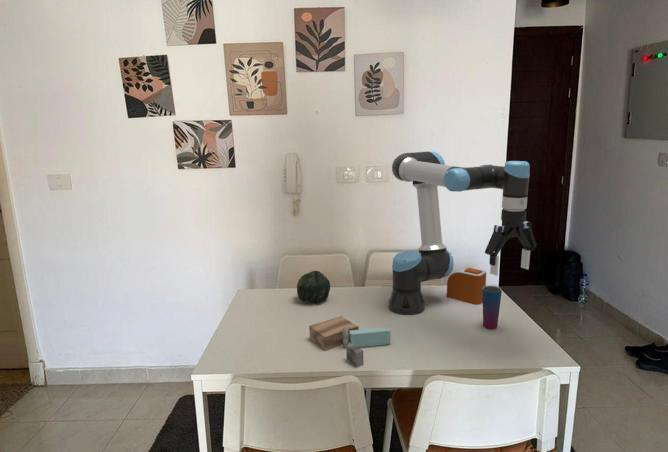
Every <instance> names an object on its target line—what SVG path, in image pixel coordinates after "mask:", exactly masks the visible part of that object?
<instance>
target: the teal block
mask: <svg viewBox="0 0 668 452" xmlns="http://www.w3.org/2000/svg"><path fill="white" fill-rule="evenodd" d="M349 341H350V342H349V344H351V343H353V344H354V345H356V346H357V347H359V348H362V347H373V346H382V345H383V346H384V345H391V329H390V328H389V326H386V327H374V328H364V329H358V330H350V331H349Z"/></svg>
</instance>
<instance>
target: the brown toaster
mask: <svg viewBox="0 0 668 452" xmlns="http://www.w3.org/2000/svg"><path fill="white" fill-rule="evenodd" d="M484 286H487V271H485V270H482V269H476V268H472V267H464V268H461V269H458V270H457V271H454V272H453V273H450V274H449V275H448V279H447V283H446V298H450V299H451V300H452V299H453V300H456V301H461V302H464V303H468V304H472V305H481V304H483V294H482V288H483V287H484Z"/></svg>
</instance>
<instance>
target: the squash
mask: <svg viewBox="0 0 668 452" xmlns="http://www.w3.org/2000/svg"><path fill="white" fill-rule="evenodd" d="M330 282H331V281H330V280H329V279H328V278H327V277H326V276H325V274H324V273H322V272H321V271H319V270H313V271H310V272H307V273H304V274H303V275H302V276H301V277H300V278H299V279H298V282H297V284H296V292H297V297H298V298H299V300H300V301H303V302H307V303H309V302H311V303H314V302H315V303H316V304H317V303H318V304H319V303H322V302H324V301H326V300H327V299H328V297H329V295H330V291H331V283H330Z"/></svg>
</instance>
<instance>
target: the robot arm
mask: <svg viewBox="0 0 668 452" xmlns="http://www.w3.org/2000/svg"><path fill="white" fill-rule="evenodd" d="M530 167H531V166H530V163H529V162H528V161H526V160H523V161H522V160H521V161H520V160H509V161H505V162H504V166H501V165H500V166H499V165H493V164H482V165H479V166H473V167H472V166H469V167H468V166H467V167H464V166H463V167H462V166H461V167H460V166H455V165H448V164H446V163H445V160H444V157H442V155H441V154H440V153H439V152H436V151H418V152H415V151H414V152H404V153H402V154H399V155H398V156H397V157H395V158H394V160H393V162H392V164H391V171H392V175H393V176H394V178H396V179H397V180H399V181H402V182H412V186H413V187H414V188H415V189H416V195H417V207H418V218H419V228H420V238H421V245H420V247H418V251H414V250H410V251H409V250H407V251H406V250H405V251H401V252H399V253H397V254H396V255H394V256H393V258H392V265H391V268H392V290H391V294H390V298H389V300H388V309H389V310H390V312H391V311H392V312H393V313H396V314H398V315H406V316H407V315H417V314H421V313H422V312H424V311H425V307H426V303H425V300H424V296H423V292H422V283H423V282H428V281H433V280H440V279H442V278H446V277H449V276H450V275H451V274H452V272H453V269H454V264H455V263H454V256H453V255H452V253H451V252H450V251H449V250H447V245H445V244H444V243H443V237H442V236H443V235H442V226H441V214H440V212H441V211H440V202H439V189H438V187H444V188H446V189H447V190H448V191H449V192H456V193H457V192H458V193H459V192H460V193H461V192H465V191H471V190H472V191H473V190H482V189H500V190H502V201H501V208H502V209H501V211H500V212H501V213H500V214H501V215H500V220H501V222H502V224H501V225H497V224H495V225H494V226H493V232H492V235H491V236H490V239H489V240H488V243H487V246H486V248H485V250H484V254H486V255H488V256H489V262H488V263H489V265H490V266H489V267H490V269H489V273H490V274H491V275H493V276H495V277H496V276H498V275H499V261H500V259H499V258H500V257H499V253H500V252H501V250H502V249H503V247H504V245H506V243H507V241H509V240H510V239H513V238H517V239H518V241H519V242H520V244H521V245H522V246H523V248H522V250H521V260H520V268H522V269H525V270H529V268H530V259H531V257H532V255H531V254H532V251H535V249H536V248H537V242H536V239H535V236H534V233H533V229H532V222H531V221H528V220H527V210H526V209H527V206H528V193H529V183H530V177H531V174H530V171H531V170H530Z"/></svg>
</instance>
